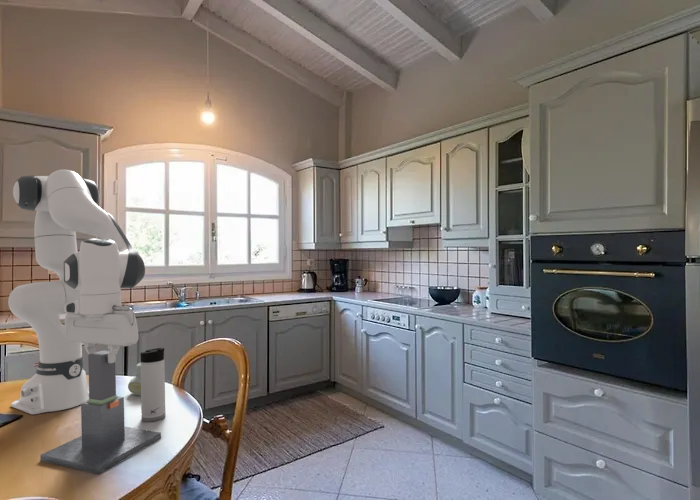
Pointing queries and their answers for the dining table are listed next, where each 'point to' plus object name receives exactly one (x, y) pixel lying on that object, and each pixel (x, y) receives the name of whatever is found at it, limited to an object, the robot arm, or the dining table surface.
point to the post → (101, 378)
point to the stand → (101, 439)
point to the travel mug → (152, 385)
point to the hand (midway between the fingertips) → (102, 361)
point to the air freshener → (136, 382)
